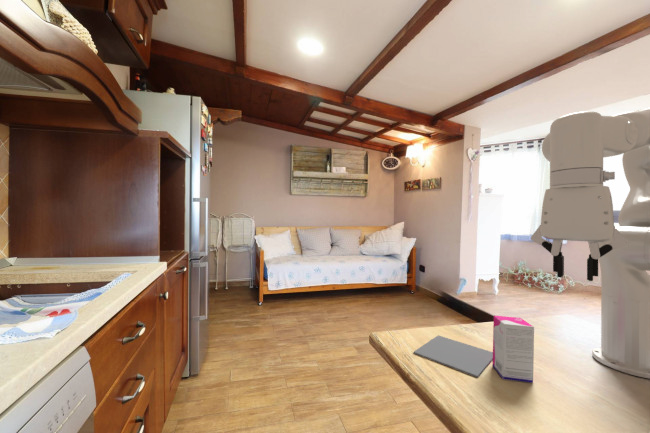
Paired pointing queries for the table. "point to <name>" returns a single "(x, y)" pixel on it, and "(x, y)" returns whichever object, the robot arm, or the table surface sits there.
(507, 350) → the supplement box
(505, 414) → the table surface
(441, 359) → the mat
